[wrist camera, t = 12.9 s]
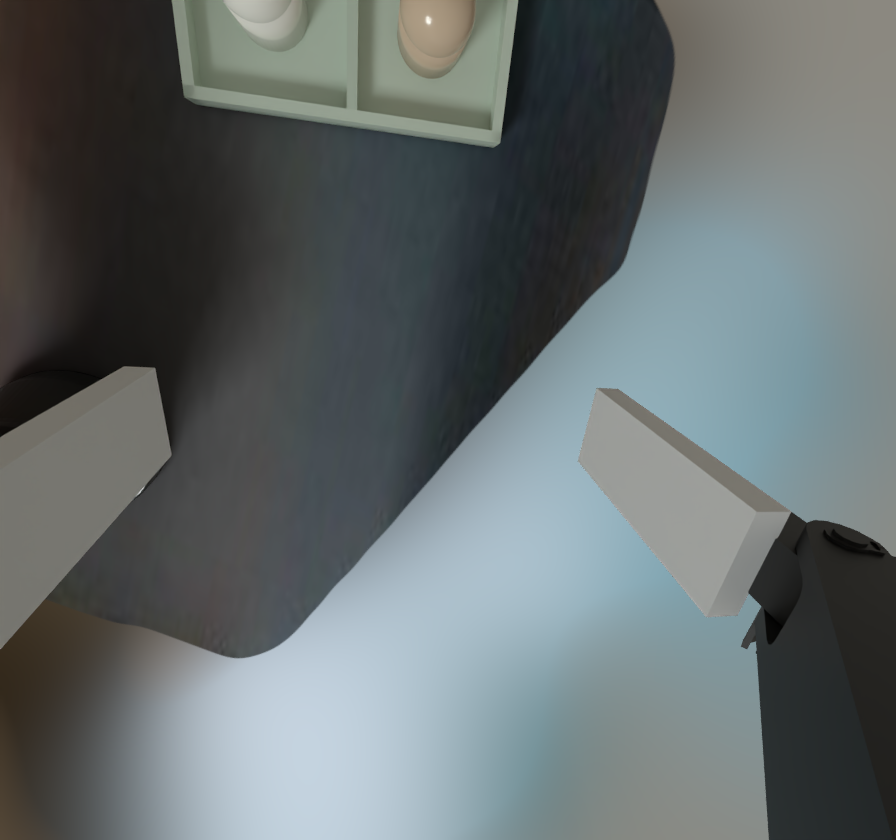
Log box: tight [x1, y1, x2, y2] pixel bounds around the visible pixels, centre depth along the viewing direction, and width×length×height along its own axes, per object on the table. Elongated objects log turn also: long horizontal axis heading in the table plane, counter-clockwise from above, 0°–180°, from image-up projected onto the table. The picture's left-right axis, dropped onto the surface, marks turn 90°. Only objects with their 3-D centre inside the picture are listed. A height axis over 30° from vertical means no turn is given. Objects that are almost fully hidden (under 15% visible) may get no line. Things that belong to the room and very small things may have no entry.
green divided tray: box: [172, 0, 518, 147], centre depth 32 cm, size 24×13×2 cm, turn 84°
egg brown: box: [397, 0, 476, 79], centre depth 30 cm, size 5×5×8 cm
